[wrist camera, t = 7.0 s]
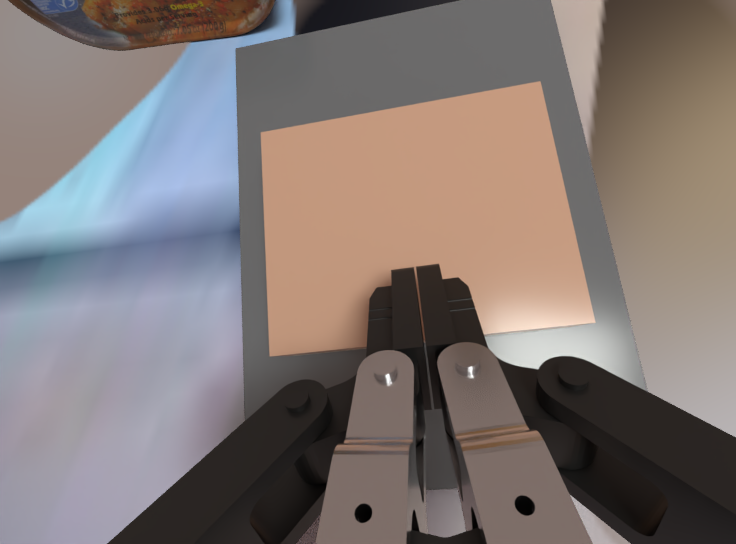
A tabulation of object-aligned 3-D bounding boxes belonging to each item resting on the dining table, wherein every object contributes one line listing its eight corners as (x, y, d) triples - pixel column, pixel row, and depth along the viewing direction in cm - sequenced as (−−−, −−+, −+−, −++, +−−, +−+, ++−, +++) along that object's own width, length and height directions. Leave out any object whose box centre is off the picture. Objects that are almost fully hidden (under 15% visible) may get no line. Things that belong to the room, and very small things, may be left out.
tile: (269, 356, 14) (260, 132, 16) (297, 355, 17) (286, 167, 19) (595, 322, 12) (540, 81, 14) (563, 328, 15) (521, 127, 17)
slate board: (259, 489, 17) (246, 499, 16) (245, 64, 22) (235, 48, 20) (650, 466, 15) (669, 476, 14) (539, 3, 20) (546, -18, 18)
